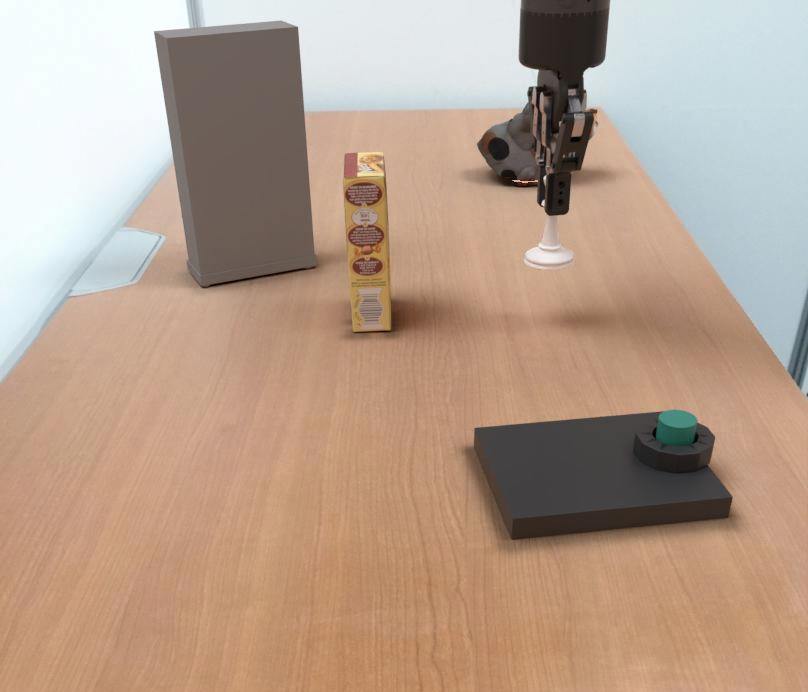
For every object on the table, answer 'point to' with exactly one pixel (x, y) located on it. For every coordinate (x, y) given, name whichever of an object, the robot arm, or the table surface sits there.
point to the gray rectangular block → (239, 148)
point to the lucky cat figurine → (515, 148)
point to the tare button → (676, 428)
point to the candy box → (367, 240)
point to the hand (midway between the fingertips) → (552, 209)
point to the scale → (597, 475)
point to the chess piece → (549, 248)
